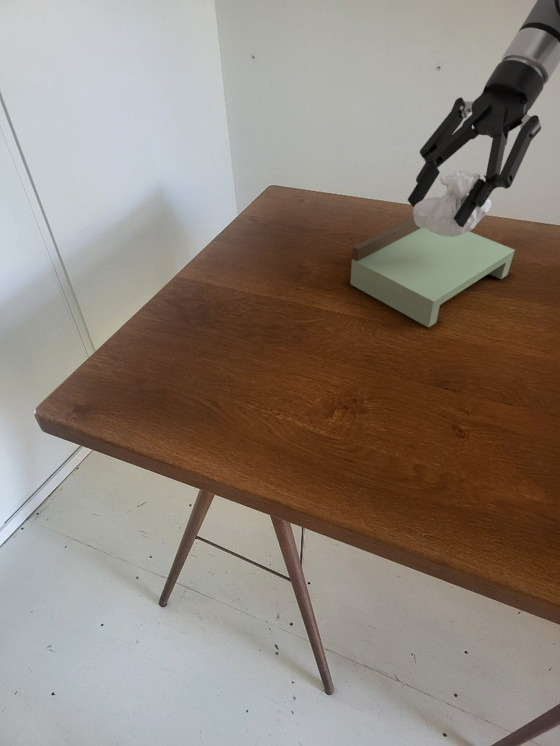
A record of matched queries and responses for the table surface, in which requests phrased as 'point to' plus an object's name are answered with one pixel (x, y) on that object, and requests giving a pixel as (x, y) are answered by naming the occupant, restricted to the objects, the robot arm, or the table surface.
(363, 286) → the shoe shelf
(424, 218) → the bust
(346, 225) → the table surface
